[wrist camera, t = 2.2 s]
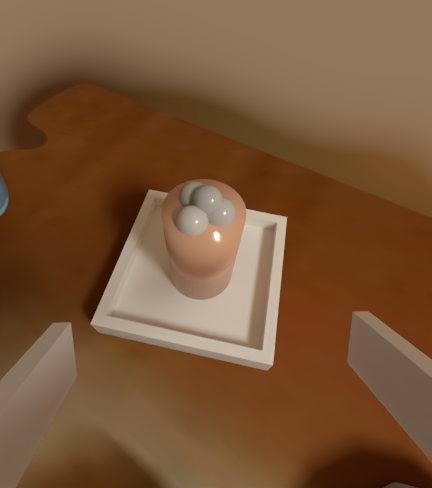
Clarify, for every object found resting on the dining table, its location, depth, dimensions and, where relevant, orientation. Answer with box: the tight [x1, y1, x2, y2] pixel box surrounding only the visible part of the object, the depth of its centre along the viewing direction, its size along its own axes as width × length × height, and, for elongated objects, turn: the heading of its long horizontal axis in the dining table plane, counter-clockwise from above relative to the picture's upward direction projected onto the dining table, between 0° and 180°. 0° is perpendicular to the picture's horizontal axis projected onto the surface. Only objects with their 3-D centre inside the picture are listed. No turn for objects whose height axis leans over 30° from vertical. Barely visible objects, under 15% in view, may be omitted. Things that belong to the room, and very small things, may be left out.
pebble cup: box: [161, 179, 246, 300], centre depth 26 cm, size 6×6×12 cm
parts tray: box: [91, 189, 287, 371], centre depth 31 cm, size 16×16×2 cm
